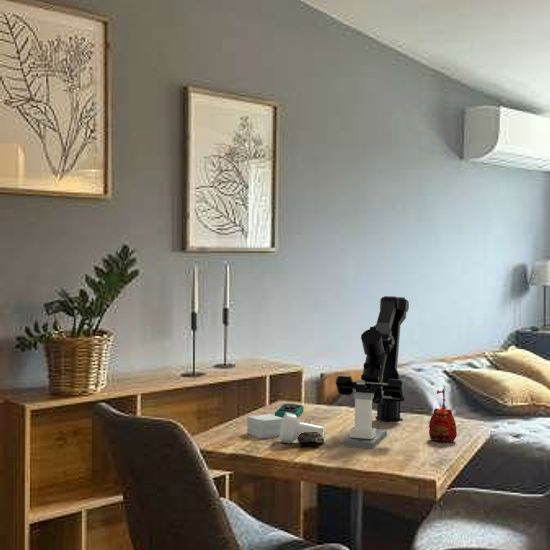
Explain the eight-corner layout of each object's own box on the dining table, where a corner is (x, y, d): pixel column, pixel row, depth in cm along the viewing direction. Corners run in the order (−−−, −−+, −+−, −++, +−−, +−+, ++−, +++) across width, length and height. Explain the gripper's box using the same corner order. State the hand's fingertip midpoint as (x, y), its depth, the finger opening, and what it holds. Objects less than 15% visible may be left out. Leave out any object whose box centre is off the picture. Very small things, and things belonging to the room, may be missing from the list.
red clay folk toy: (426, 441, 220) (428, 387, 220) (431, 436, 227) (432, 384, 227) (454, 444, 218) (456, 389, 217) (458, 439, 224) (459, 386, 224)
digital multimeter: (303, 412, 263) (304, 403, 263) (297, 421, 248) (297, 411, 248) (281, 411, 264) (282, 402, 264) (274, 420, 249) (274, 410, 249)
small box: (269, 431, 231) (269, 413, 231) (284, 436, 224) (284, 418, 224) (246, 433, 227) (246, 415, 227) (260, 439, 220) (261, 420, 220)
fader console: (359, 432, 230) (359, 427, 230) (386, 435, 227) (386, 429, 227) (343, 446, 213) (343, 439, 213) (373, 448, 210) (373, 442, 210)
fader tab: (354, 433, 220) (355, 391, 220) (375, 435, 218) (376, 393, 218) (349, 437, 215) (350, 394, 215) (371, 439, 213) (372, 395, 213)
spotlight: (276, 434, 220) (283, 407, 218) (316, 442, 221) (323, 415, 219) (278, 446, 212) (285, 418, 210) (319, 454, 213) (327, 427, 211)
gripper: (409, 386, 231) (402, 431, 220) (346, 382, 237) (336, 425, 226) (405, 362, 223) (397, 407, 213) (340, 358, 229) (330, 402, 219)
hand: (364, 411), depth 218 cm, fingers closed
